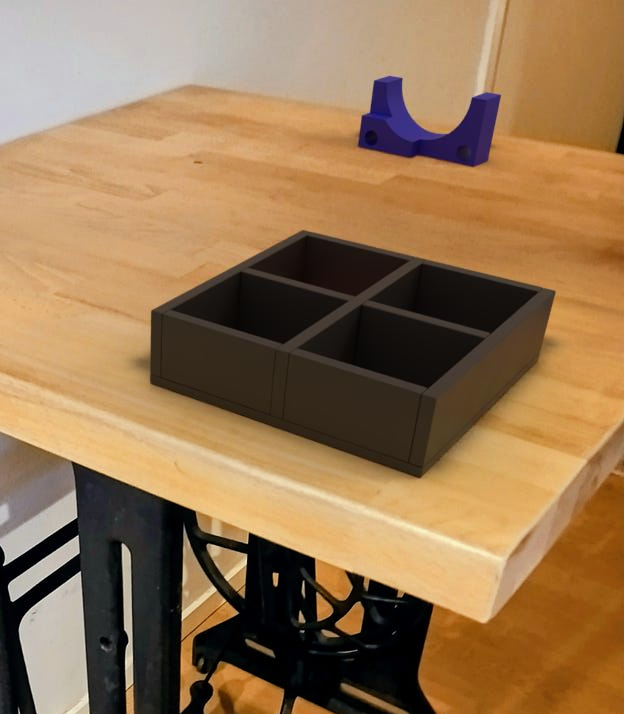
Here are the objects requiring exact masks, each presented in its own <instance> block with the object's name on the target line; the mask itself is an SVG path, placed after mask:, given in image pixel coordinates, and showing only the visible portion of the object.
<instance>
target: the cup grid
mask: <svg viewBox="0 0 624 714" xmlns="http://www.w3.org/2000/svg"><path fill="white" fill-rule="evenodd" d="M556 293H557V291H556V290H555V289H551V288H546V287H543V286H539V285H535V284H530V283H526V282H521V281H517V280H514V279H510V278H506V277H503V276H502V277H501V276H497V275H493V274H489V273H485V272H480V271H476V270H472V269H468V268H464V267H460V266H455V265H451V264H447V263H443V262H438V261H435V260H430V259H426V258H421V257H418V256H415V255H409V254H405V253H401V252H398V251H393V250H388V249H385V248H380V247H376V246H372V245H367V244H364V243H360V242H355V241H351V240H346V239H343V238H339V237H334V236H330V235H326V234H321V233H317V232H314V231H313V232H312V231H308V230H305V229H302V230H300V231H298V232H296V233H294V234H292V235H290V236H288V237H287V238H285V239H283V240H281V241H279V242H277V243H275V244H273V245H271V246H270V247H268V248H265V249H264V250H262V251H260V252H259V253H257V254H255V255H252V256H251V257H249V258H247V259H245V260H243V261H241V262H239V263H238V264H235V265H234V266H232V267H230V268H228V269H226V270H225V271H223V272H221V273H218V274H217V275H215V276H213V277H211V278H209V279H207V280H206V281H204V282H202V283H200V284H198V285H195V287H192V288H190V289H189V290H187V291H185V292H183V293H181V294H179V295H177V296H176V297H174V298H172V299H170V300H168V301H166V302H164V303H161V305H158V306H157V307H155V308H153V309H151V311H150V348H149V349H150V350H149V351H150V353H149V354H150V356H149V357H150V358H149V383H150V384H153V385H155V386H157V387H162V388H163V389H167V390H170V391H172V392H176V393H178V394H181V395H184V396H187V397H190V398H192V399H195V400H198V401H201V402H204V403H207V404H210V405H213V406H216V407H218V408H221V409H224V410H227V411H230V412H233V413H235V414H238V415H240V416H244V417H246V418H249V419H252V420H256V421H258V422H261V423H264V424H267V425H269V426H272V427H275V428H278V429H280V430H284V431H287V432H289V433H292V434H294V435H297V436H300V437H304V438H307V439H309V440H311V441H314V442H318V443H320V444H324V445H326V446H329V447H332V448H335V449H338V450H340V451H342V452H343V451H344V452H346V453H349V454H352V455H355V456H358V457H361V458H364V459H366V460H369V461H372V462H375V463H378V464H381V465H383V466H386V467H390V468H392V469H395V470H397V471H400V472H403V473H407V474H409V475H412V476H415V477H418V478H422V477H423V476H424V475H425V474H426V473H427V472H428V471H429V469H431V468H432V467H433V466H434V465H435V464H436V463H437V462H438V461H439V459H441V458H442V457H443V456H444V455H445V454H446V453H447V452H448V451H449V450H450V449H451V448H452V447H453V445H455V444H456V443H457V442H458V441H459V440H460V439H461V438H462V437H463V436H464V435H465V434H466V432H468V431H469V430H470V429H471V428H472V427H473V426H474V425H475V424H476V423H477V422H478V421H479V420H480V419H481V418H482V417H483V416H484V415H485V414H486V413H487V412H488V411H489V410H490V409H491V407H493V406H494V405H495V404H496V403H497V402H498V401H499V400H500V399H501V398H502V397H503V396H504V395H505V394H506V393H507V392H508V391H509V390H510V389H511V388H512V387H513V386H514V385H515V384H516V383H517V382H518V381H519V380H520V379H521V378H522V377H523V376H524V375H525V374H526V373H527V372H528V371H529V370H530V369H531V368H532V367H533V366H534V365H535V364H536V363H537V362H538V361H539V358H540V353H541V350H542V347H543V342H544V338H545V335H546V331H547V327H548V325H549V324H548V323H549V320H550V316H551V311H552V309H553V304H554V301H555V297H556Z"/></svg>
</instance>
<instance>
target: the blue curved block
mask: <svg viewBox="0 0 624 714" xmlns="http://www.w3.org/2000/svg"><path fill="white" fill-rule="evenodd" d="M501 98H502V94H500V93H493V92H488V91H486V92H484V93H483V92H482V93H480V94H477V95H474V96H472V97H471V99H470V103H469V106H468V109H467V111H466V114H465V115H464V117H463V119H462V120H461V121H460V122H459V124H458V125H457V126H456V127H455V128H454V129H452V130H451V131H450V132H449V133H436V132H432V131H429V130H427V129H425V128H423V127H422V126H420V125H419V124H418V123H417V122H416V121H415V120H414V118H413V117H412V116H411V115H410V113H409V110H408V108H407V105H406V103H405V100H404V99H405V98H404V94H403V77H401V76H393V75H387V76H384V77H380V78H377V79H374V80H373V86H372V92H371V99H370V108H369V112H367V113H365V114H361V117H360V118H361V119H360V125H359V135H358V141H357V148H358V147H359V148H363V149H367V150H371V151H376V152H380V153H386V154H390V155H394V156H399V157H405V158H410V159H412V158H415V157H417V156H420V157H426V158H430V159H436V160H440V161H445V162H449V163H454V164H459V165H464V166H468V167H473V168H474V167H476V166H479V165H481V164H484V163H486V162H488V161H489V158H490V153H491V147H492V142H493V138H494V132H495V127H496V123H497V117H498V112H499V109H500V103H501Z"/></svg>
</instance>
